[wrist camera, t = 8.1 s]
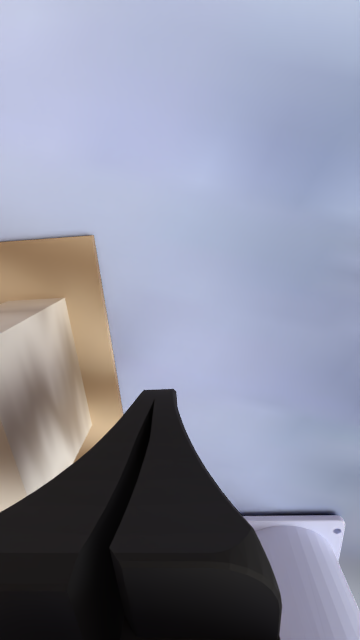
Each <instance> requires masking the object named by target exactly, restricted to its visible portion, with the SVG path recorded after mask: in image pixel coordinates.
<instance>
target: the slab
mask: <svg viewBox="0 0 360 640" xmlns="http://www.w3.org/2000/svg"><path fill="white" fill-rule="evenodd" d="M91 426H92V423H91V418H90V413H89V409H88V404H87V399H86V394H85V390H84V385H83V380H82V376H81V371H80V366H79V362H78V357H77V352H76V348H75V343H74V338H73V334H72V329H71V324H70V320H69V315H68V310H67V306H66V301H65V298H50V299H32V300H15V301H7V302H5V303H2V304H0V512H1V511H3V510H5V509H7V508H8V507H10V506H12V505H13V504H15V503H17V502H18V501H20V500H22V499H23V498H25V497H26V496H28V495H29V494H31V493H33V492H34V491H36V490H37V489H39V488H40V487H42V486H43V485H45V484H46V483H48V482H49V481H50V480H52V479H53V478H55V477H56V476H57V475H59V474H60V473H61V472H62V471H64V470H65V469H66V468H68V467H69V466H70V465H72V464H73V462H74V460H75V458H76V456H77V454H78V452H79V450H80V448H81V446H82V444H83V442H84V440H85V438H86V436H87V434H88V432H89V430H90V428H91Z"/></svg>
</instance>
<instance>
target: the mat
mask: <svg viewBox="0 0 360 640" xmlns="http://www.w3.org/2000/svg"><path fill="white" fill-rule="evenodd" d="M50 298H65V301H66V306H67V310H68V315H69V320H70V324H71V329H72V334H73V338H74V343H75V348H76V352H77V357H78V362H79V366H80V371H81V376H82V380H83V385H84V390H85V394H86V399H87V404H88V409H89V413H90V418H91V423H92V426H91V428H90V430H89V432H88V434H87V436H86V438H85V440H84V442H83V444H82V446H81V448H80V450H79V452H78V454H77V456H76V458H75V460H74V462H76V461H77V460H78V459H79V458H81V457H82V456H83V455H84V454H85V453H86V452H88V451H89V450H90V449H91V448H92V447H93V446H94V445H95V444H96V443H97V442H98V441H99V440H100V439H101V438H102V437H103V436H104V435H105V434H106V433H107V432H108V431H109V430H110V429H111V428H112V427H113V426H114V425H115V424H116V423H117V422H118V420H119V419H120V418H121V417H122V416H123V410H122V403H121V397H120V391H119V385H118V379H117V373H116V367H115V361H114V355H113V349H112V343H111V337H110V331H109V325H108V319H107V313H106V307H105V300H104V294H103V288H102V282H101V276H100V270H99V264H98V258H97V252H96V246H95V240H94V235H92V236H78V237H64V238H50V239H36V240H22V241H8V242H0V304H2V303H5V302H7V301H15V300H32V299H50ZM74 462H73V463H74Z"/></svg>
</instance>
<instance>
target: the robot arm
mask: <svg viewBox="0 0 360 640" xmlns="http://www.w3.org/2000/svg"><path fill="white" fill-rule="evenodd" d="M344 530H345V522H344V520H343V518H342V517H340V516H338V515H309V516H242V515H241V514H240V513H239V512H238V510H237V509H236V508H235V507H234V506H233V505H232V503H231V502H230V501H229V500H228V498H227V497H226V496H225V494H224V493H223V492H222V491H221V489H220V488H219V487H218V485H217V484H216V482H215V481H214V479H213V478H212V477H211V475H210V474H209V472H208V471H207V469H206V468H205V466H204V465H203V463H202V461H201V460H200V458H199V456H198V455H197V453H196V451H195V449H194V447H193V445H192V443H191V441H190V439H189V437H188V435H187V433H186V430H185V428H184V425H183V423H182V420H181V417H180V414H179V411H178V407H177V396H176V391H175V390H174V389H162V390H144V391H143V392H142V393H141V394H140V395H139V396H138V398H137V399H136V400H135V401H134V403H133V404H132V405H131V406H130V408H129V409H128V410H127V411H126V412H125V414H124V415H123V416H122V417H121V418H120V419H119V420H118V422H117V423H116V424H115V425H114V426H113V427H112V428H111V429H110V430H109V431H108V432H107V433H106V434H105V435H104V436H103V437H102V438H101V439H100V440H99V441H98V442H97V443H96V444H95V445H94V446H93V447H92V448H91V449H90V450H89V451H88V452H86V453H85V454H84V455H83V456H82V457H81V458H79V459H78V460H77V461H76V462H74V463H73V464H72V465H70V466H69V467H68V468H66V469H65V470H64V471H62V472H61V473H60V474H59V475H57V476H56V477H55V478H53V479H52V480H50V481H49V482H48V483H46V484H45V485H43V486H42V487H40V488H39V489H37V490H36V491H34V492H33V493H31V494H29V495H28V496H26V497H25V498H23V499H22V500H20V501H18V502H17V503H15V504H13V505H12V506H10V507H8V508H7V509H5V510H3V511H1V512H0V640H360V610H359V608H358V606H357V604H356V601H355V599H354V597H353V594H352V592H351V590H350V588H349V585H348V583H347V581H346V579H345V576H344V574H343V572H342V570H341V567H340V565H339V563H338V561H339V556H340V551H341V545H342V540H343V535H344Z"/></svg>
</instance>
